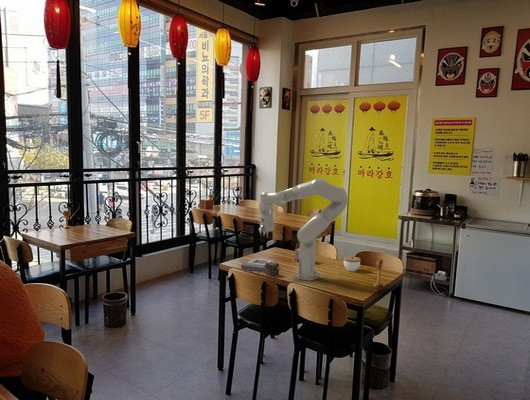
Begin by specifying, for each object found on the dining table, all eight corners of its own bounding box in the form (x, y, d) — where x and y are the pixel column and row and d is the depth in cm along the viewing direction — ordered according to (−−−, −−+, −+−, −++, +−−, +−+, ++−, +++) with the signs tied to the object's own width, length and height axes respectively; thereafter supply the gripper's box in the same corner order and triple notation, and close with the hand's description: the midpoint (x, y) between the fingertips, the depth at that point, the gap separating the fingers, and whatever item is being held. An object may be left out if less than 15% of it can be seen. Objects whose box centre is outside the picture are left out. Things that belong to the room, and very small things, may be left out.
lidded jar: (339, 269, 260) (340, 255, 259) (349, 267, 267) (349, 253, 266) (354, 273, 252) (354, 258, 251) (363, 270, 260) (364, 256, 259)
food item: (315, 262, 276) (316, 248, 275) (308, 264, 271) (308, 250, 270) (300, 259, 286) (301, 245, 285) (293, 260, 281) (293, 246, 280)
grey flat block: (277, 267, 261) (277, 260, 261) (266, 273, 247) (266, 266, 246) (253, 263, 269) (253, 257, 269) (241, 269, 255) (241, 262, 255)
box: (270, 277, 240) (271, 265, 239) (264, 274, 245) (265, 262, 244) (278, 275, 244) (279, 263, 243) (272, 273, 248) (273, 261, 248)
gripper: (265, 214, 235) (265, 243, 236) (278, 211, 250) (278, 238, 251) (254, 213, 238) (254, 242, 240) (267, 210, 253) (267, 237, 255)
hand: (266, 240), depth 246 cm, fingers open, 9 cm apart
